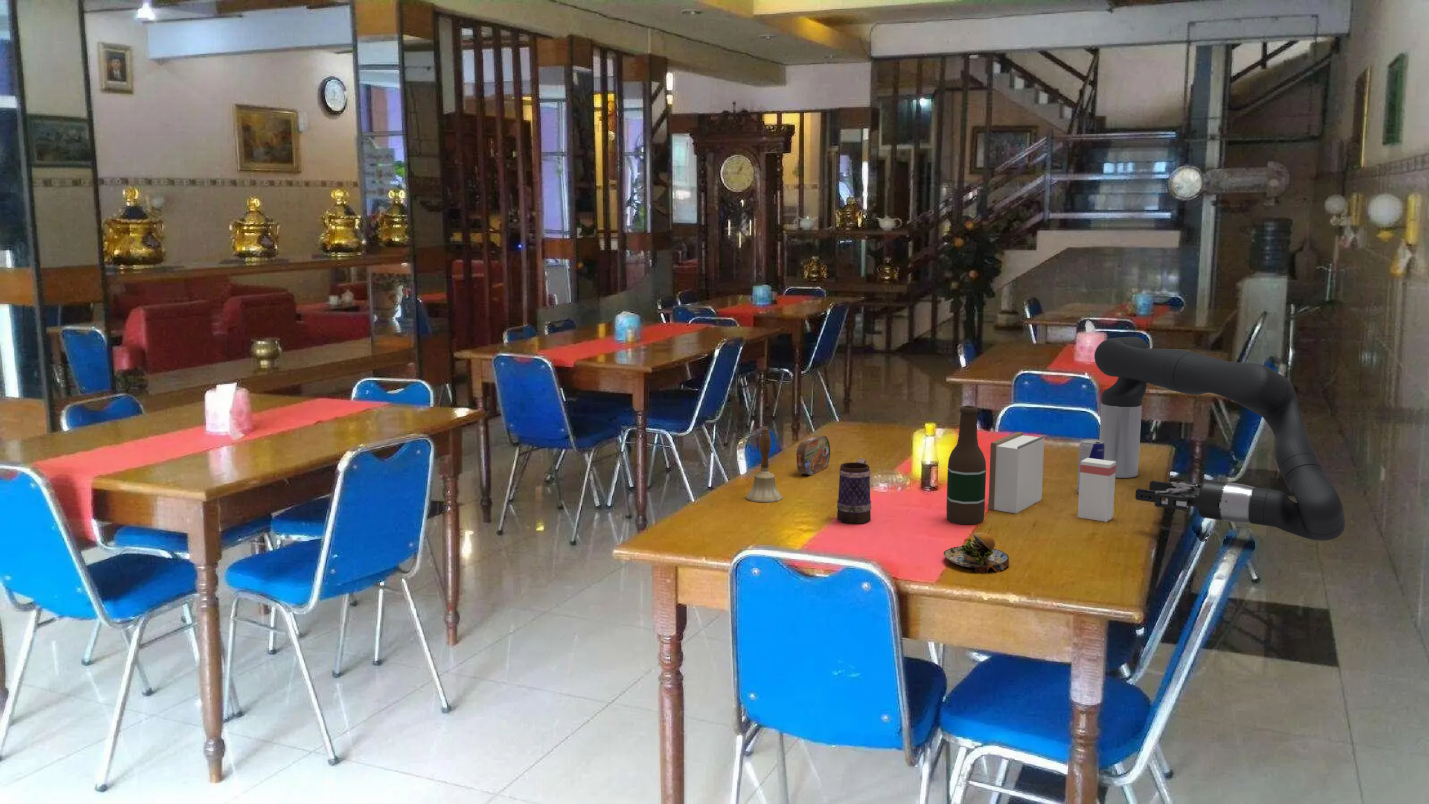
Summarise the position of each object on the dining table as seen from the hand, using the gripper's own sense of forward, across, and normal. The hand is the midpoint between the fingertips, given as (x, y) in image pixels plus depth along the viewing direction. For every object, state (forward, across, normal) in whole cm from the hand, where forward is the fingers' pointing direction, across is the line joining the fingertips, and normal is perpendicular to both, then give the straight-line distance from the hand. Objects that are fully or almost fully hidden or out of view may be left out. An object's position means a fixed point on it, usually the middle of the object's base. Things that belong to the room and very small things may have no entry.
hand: (1143, 489), depth 230 cm
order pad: (+27, 0, +7) cm, 28 cm away
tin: (+80, +1, +7) cm, 80 cm away
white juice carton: (+10, 0, +7) cm, 12 cm away
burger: (+16, +43, +8) cm, 46 cm away
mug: (+49, +30, +8) cm, 58 cm away
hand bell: (+74, +29, +7) cm, 80 cm away
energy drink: (+18, -19, +7) cm, 27 cm away
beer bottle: (+30, +18, +8) cm, 36 cm away
